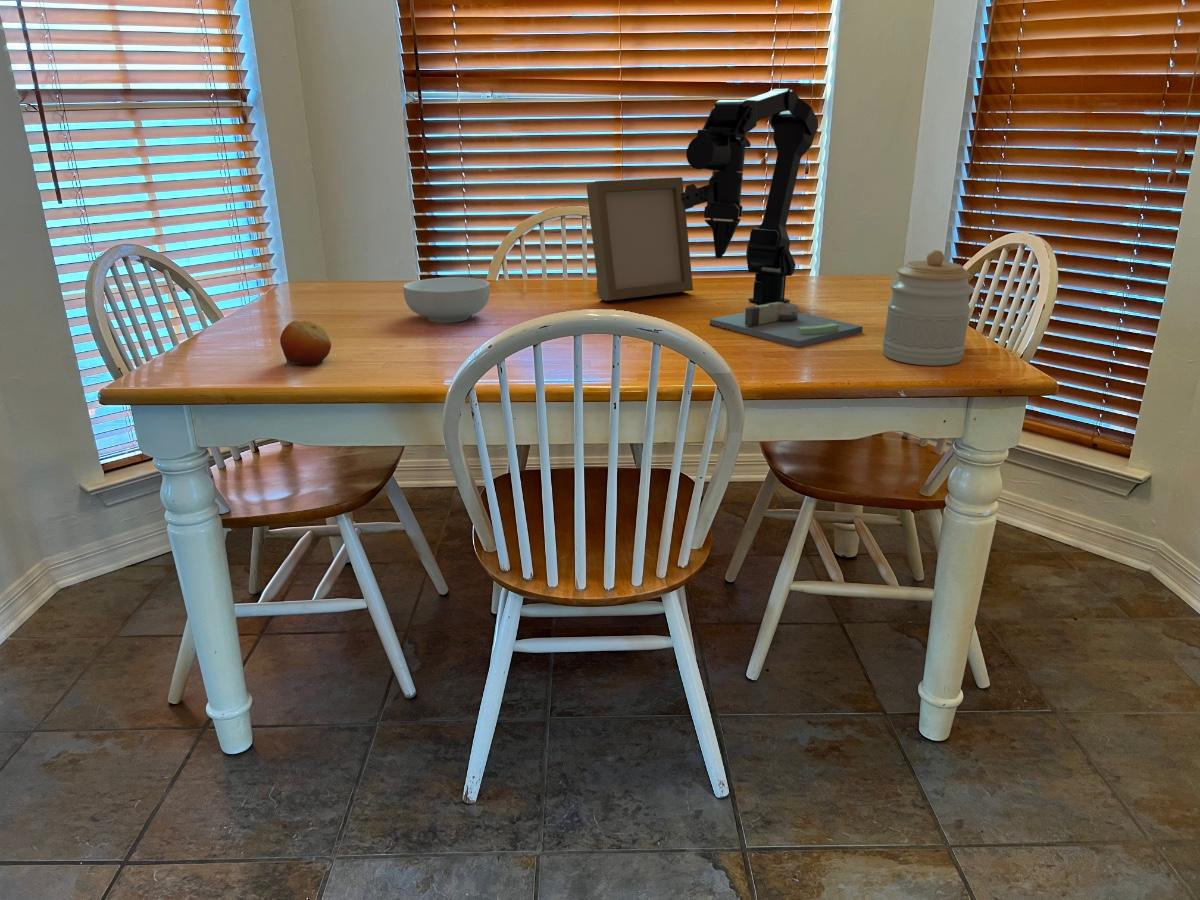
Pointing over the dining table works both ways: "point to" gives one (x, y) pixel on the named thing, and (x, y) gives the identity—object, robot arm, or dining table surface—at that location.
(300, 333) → the fruit
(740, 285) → the dining table surface
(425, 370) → the dining table surface
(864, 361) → the dining table surface
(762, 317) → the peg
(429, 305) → the cereal bowl
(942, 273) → the jar
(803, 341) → the board
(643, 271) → the photo frame
